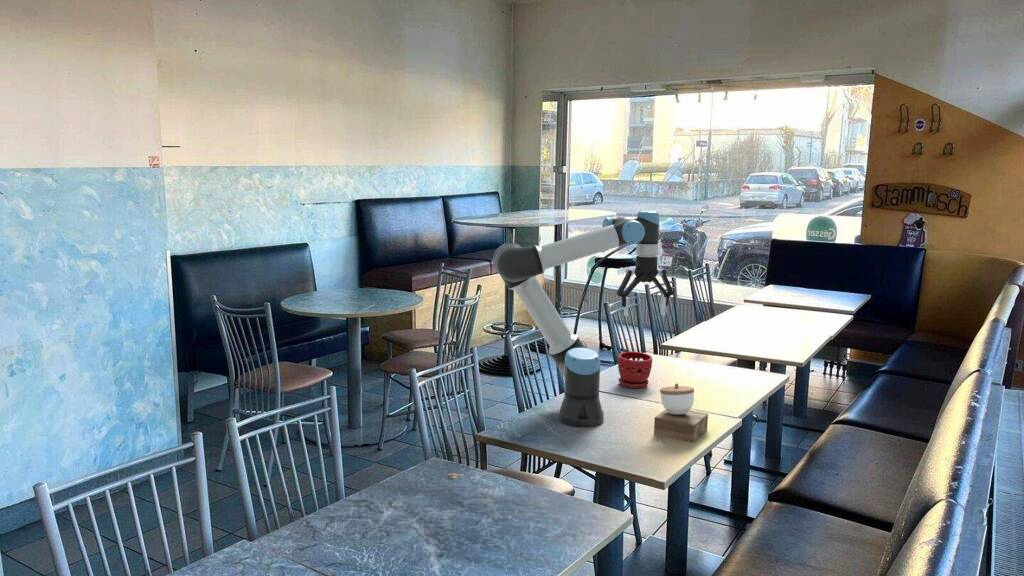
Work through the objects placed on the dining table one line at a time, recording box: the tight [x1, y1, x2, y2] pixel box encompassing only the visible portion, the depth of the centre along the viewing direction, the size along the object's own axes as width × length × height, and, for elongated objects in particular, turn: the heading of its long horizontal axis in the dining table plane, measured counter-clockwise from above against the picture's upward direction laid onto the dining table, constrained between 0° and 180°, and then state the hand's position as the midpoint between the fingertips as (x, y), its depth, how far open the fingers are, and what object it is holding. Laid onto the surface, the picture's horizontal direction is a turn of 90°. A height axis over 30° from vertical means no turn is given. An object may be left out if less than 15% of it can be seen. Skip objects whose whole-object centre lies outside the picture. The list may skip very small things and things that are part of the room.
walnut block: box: [653, 409, 709, 443], centre depth 235 cm, size 13×13×6 cm
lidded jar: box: [659, 383, 695, 414], centre depth 235 cm, size 11×11×9 cm
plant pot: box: [617, 351, 653, 389], centre depth 285 cm, size 13×13×12 cm
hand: (644, 315), depth 257 cm, fingers open, 13 cm apart
